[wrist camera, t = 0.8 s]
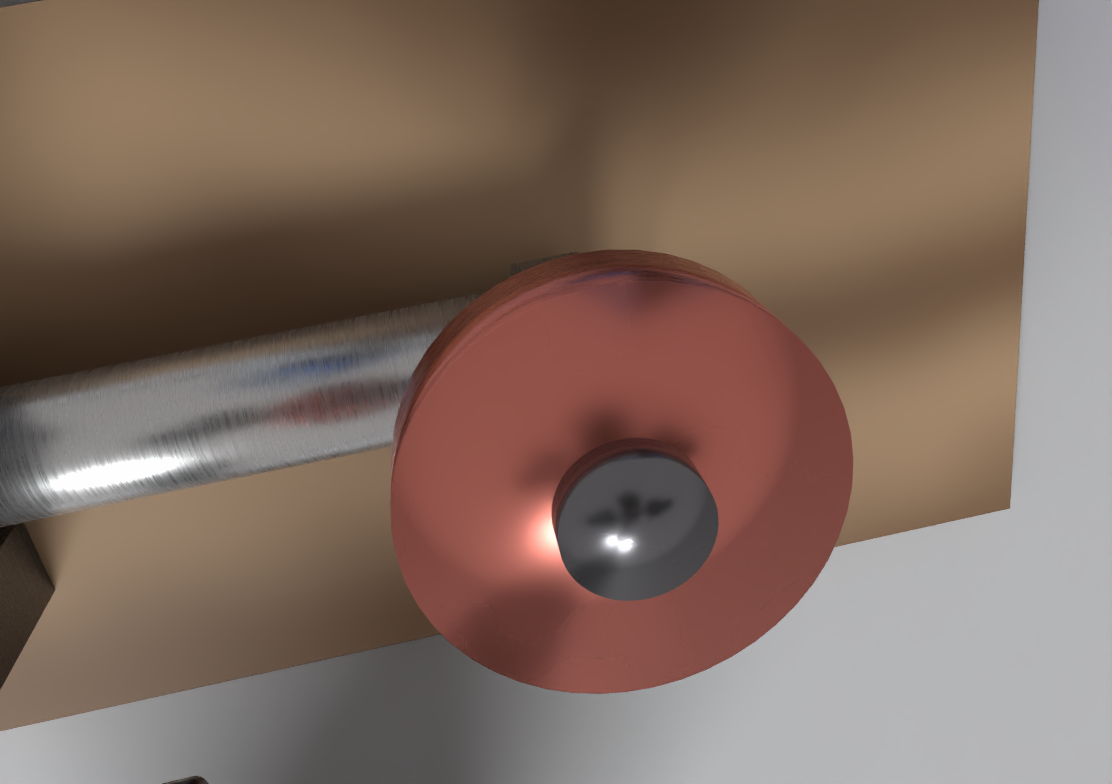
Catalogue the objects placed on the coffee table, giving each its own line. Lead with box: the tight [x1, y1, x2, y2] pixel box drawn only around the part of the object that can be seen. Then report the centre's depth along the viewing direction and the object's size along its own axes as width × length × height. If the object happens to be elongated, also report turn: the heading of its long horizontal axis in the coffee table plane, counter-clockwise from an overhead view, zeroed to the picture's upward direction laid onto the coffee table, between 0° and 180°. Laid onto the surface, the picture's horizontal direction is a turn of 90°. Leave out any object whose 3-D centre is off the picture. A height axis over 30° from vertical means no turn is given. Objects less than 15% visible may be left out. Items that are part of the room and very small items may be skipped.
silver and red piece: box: [0, 250, 853, 694], centre depth 15 cm, size 6×19×8 cm, turn 99°
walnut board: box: [0, 0, 1039, 731], centre depth 19 cm, size 14×28×1 cm, turn 98°
